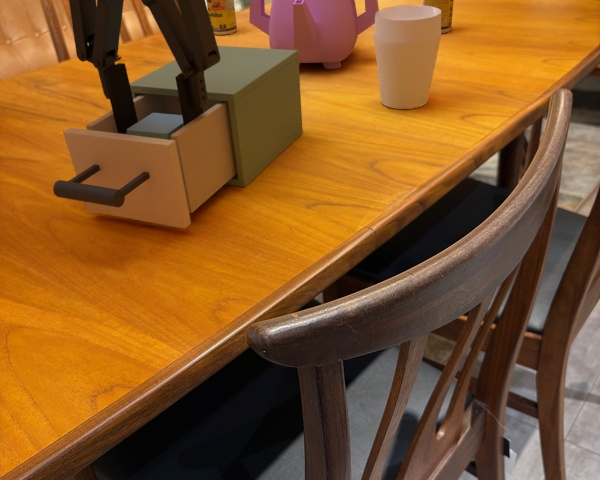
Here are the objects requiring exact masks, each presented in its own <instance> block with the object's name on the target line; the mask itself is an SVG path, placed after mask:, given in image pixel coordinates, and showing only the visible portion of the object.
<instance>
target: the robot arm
mask: <svg viewBox="0 0 600 480" xmlns="http://www.w3.org/2000/svg"><path fill="white" fill-rule="evenodd" d="M124 1H125V0H68V2H69V9H70V10H69V11H70V18H71V25H72V31H73V37H74V38H73V40H74V45H75V52H76V53H75V54H76V57H77V59H78V60H79V61H80V62H83V63H84V62H86V61H87V62H88V63H90V64H92V65H93V67H94V68H95V69H96V70H97V72H98V76H99V80H100V84H101V88H102V91H103V95H104V97H105V99H106V100H109V102H110V106H111V111H113V115H114V118H115V122H116V126H117V130H118V133H121V134H124V133H126V132H127V129H128V128H130V127H131V126H133V125H134V124H136V123H137V122H138V119H137V115H136V110H135V106H134V101H133V97H132V92H131V88H130V80H129V75H128V70H127V65H126V63H125V62H118V61H120V60H121V59H122V56H120V55H119V44H120V36H121V29H122V28H121V27H122V20H123V19H122V18H123V10H124ZM140 2H141V3H142V4H143V6H145V7H147V8H148V10H149V11H150V14H151V15H152V17H153V19H154V22H155V23H156V25H157V27H158V29H159V31H160V32H161V35H162V36H163V39H164V40H165V42H166V44H167V46H168V48H169V49H170V52H171V54H172V56H173V58H174V60H176V61H177V63H178V65H179V67H180V69H181V71H182V73H180V74H178V76H176V77H175V78H176V83H177V89H178V95H179V100H180V106H181V112H182V117H183V123H184V126H185V125H187V124H188V123H189V122H191V121H192V120H194V119H195V118H197V117H198V116H200V115H201V114H203V113H204V112H203V106H204V105H205V104H207V100H208V98H207V91H206V84H205V77H204V71H205V70H207V69H208V68H210V67H212V66H213V65H215V64H217V63H219V61H220V54H219V50H218V46H219V45H218V44H217V39H216V37H215V35H216V34H214V32H213V28H212V25H211V21H210V17H209V14H208V8H207V2H206V0H177V3H178V4H177V3H176V1H175V0H140ZM117 62H118V63H117Z"/></svg>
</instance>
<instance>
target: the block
mask: <svg viewBox="0 0 600 480" xmlns="http://www.w3.org/2000/svg"><path fill="white" fill-rule="evenodd" d="M182 127H184V123H183V117H182V115H173V114H162V113H152V114H150V115H148V116H147V117H145V118H144V119H142V120H141V121H139V122H137V123H136V124H134V125H133V126H131V127H130V128H128V129H127V134H128V135H134V136H143V137H151V138H159V139H167V140H171V135H172V134H173V133H175V132H176V131H178V130H179V129H181V128H182Z"/></svg>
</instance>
